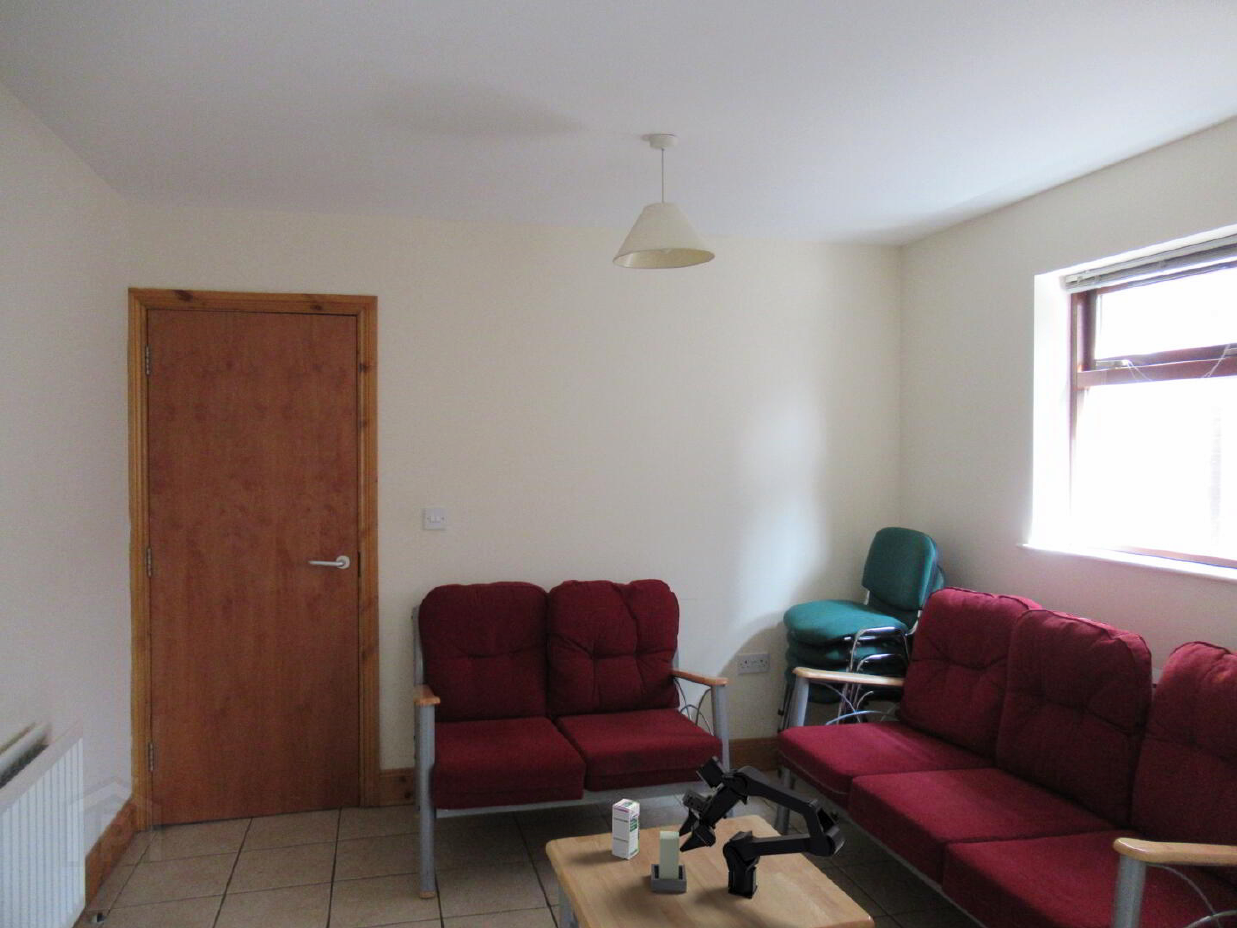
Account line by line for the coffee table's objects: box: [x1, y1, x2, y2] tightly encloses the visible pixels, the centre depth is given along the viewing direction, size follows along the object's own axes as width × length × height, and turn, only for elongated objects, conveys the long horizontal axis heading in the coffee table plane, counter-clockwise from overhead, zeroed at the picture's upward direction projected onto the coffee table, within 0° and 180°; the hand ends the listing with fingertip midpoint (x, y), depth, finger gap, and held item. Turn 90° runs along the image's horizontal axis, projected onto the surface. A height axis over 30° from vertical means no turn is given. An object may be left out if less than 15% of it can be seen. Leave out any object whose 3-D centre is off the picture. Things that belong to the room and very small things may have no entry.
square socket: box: [650, 863, 688, 894], centre depth 238 cm, size 9×9×3 cm
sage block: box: [658, 830, 680, 879], centre depth 238 cm, size 5×5×13 cm
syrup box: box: [611, 798, 640, 860], centre depth 254 cm, size 6×6×14 cm
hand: (679, 842), depth 237 cm, fingers open, 9 cm apart
